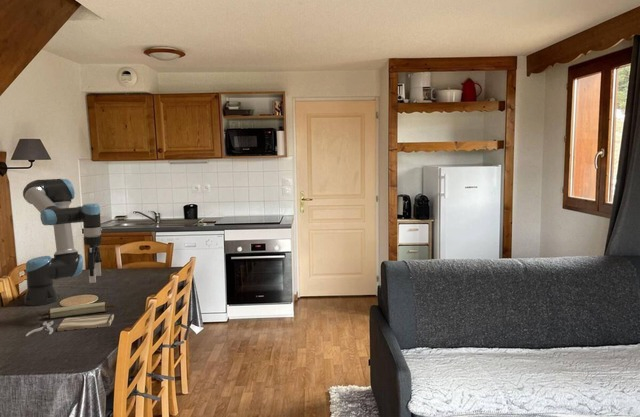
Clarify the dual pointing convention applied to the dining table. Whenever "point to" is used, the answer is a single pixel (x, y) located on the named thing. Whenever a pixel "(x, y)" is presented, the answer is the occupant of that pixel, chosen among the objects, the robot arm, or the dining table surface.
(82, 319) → the marking board
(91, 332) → the dining table surface
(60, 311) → the rolling pin
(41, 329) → the pliers
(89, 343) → the dining table surface
